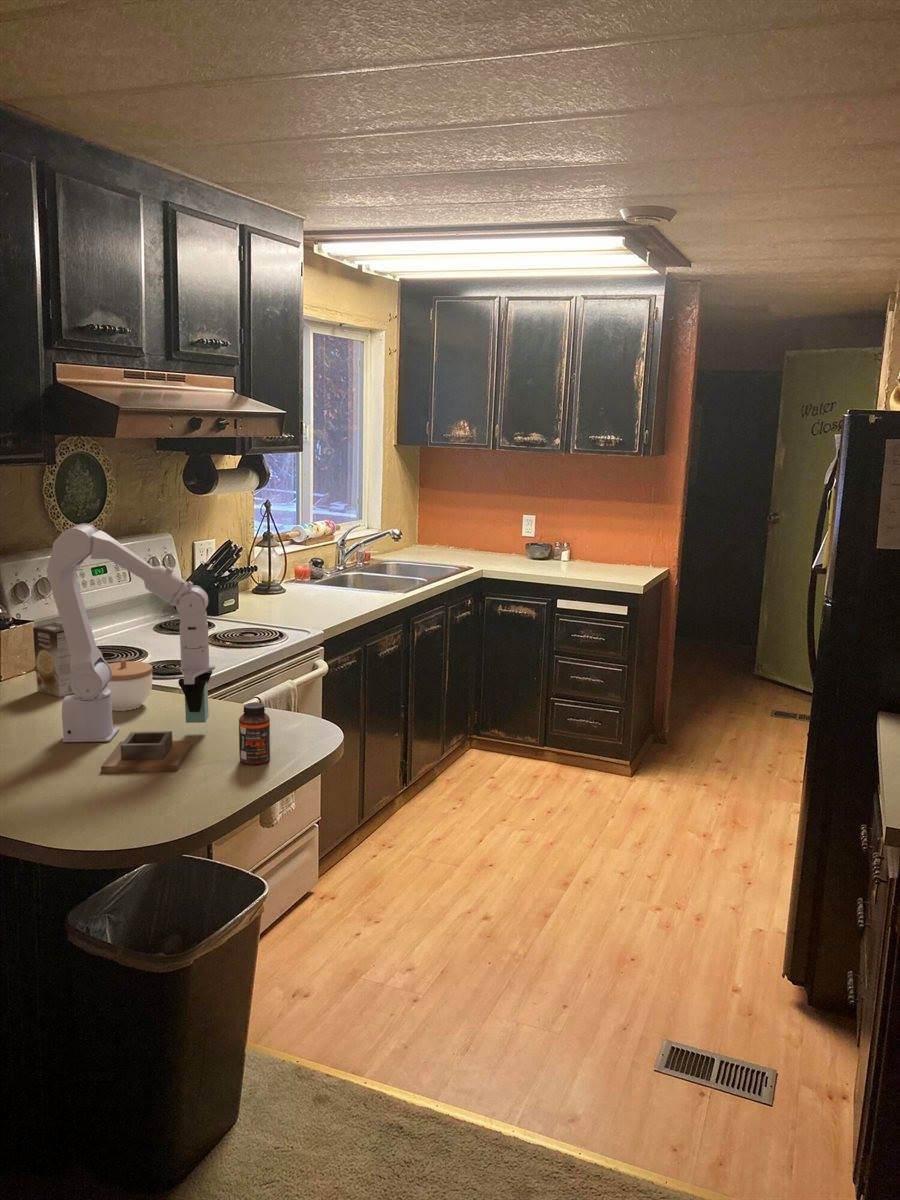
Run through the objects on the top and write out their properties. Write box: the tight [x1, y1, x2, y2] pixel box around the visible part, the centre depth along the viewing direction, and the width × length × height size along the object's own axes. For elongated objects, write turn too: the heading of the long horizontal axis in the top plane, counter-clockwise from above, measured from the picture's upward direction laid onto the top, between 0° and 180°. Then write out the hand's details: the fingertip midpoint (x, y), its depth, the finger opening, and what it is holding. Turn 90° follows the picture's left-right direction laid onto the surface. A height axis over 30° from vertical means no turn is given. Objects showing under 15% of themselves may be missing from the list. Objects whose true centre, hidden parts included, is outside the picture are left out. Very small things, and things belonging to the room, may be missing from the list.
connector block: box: [184, 682, 210, 724], centre depth 202 cm, size 4×4×8 cm
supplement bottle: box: [238, 701, 271, 766], centre depth 187 cm, size 6×6×11 cm
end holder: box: [100, 730, 192, 773], centre depth 188 cm, size 14×14×4 cm
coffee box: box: [32, 622, 74, 698], centre depth 231 cm, size 9×6×16 cm
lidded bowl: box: [107, 658, 153, 712], centre depth 220 cm, size 13×13×11 cm
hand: (196, 708), depth 202 cm, fingers closed on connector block, 4 cm apart
